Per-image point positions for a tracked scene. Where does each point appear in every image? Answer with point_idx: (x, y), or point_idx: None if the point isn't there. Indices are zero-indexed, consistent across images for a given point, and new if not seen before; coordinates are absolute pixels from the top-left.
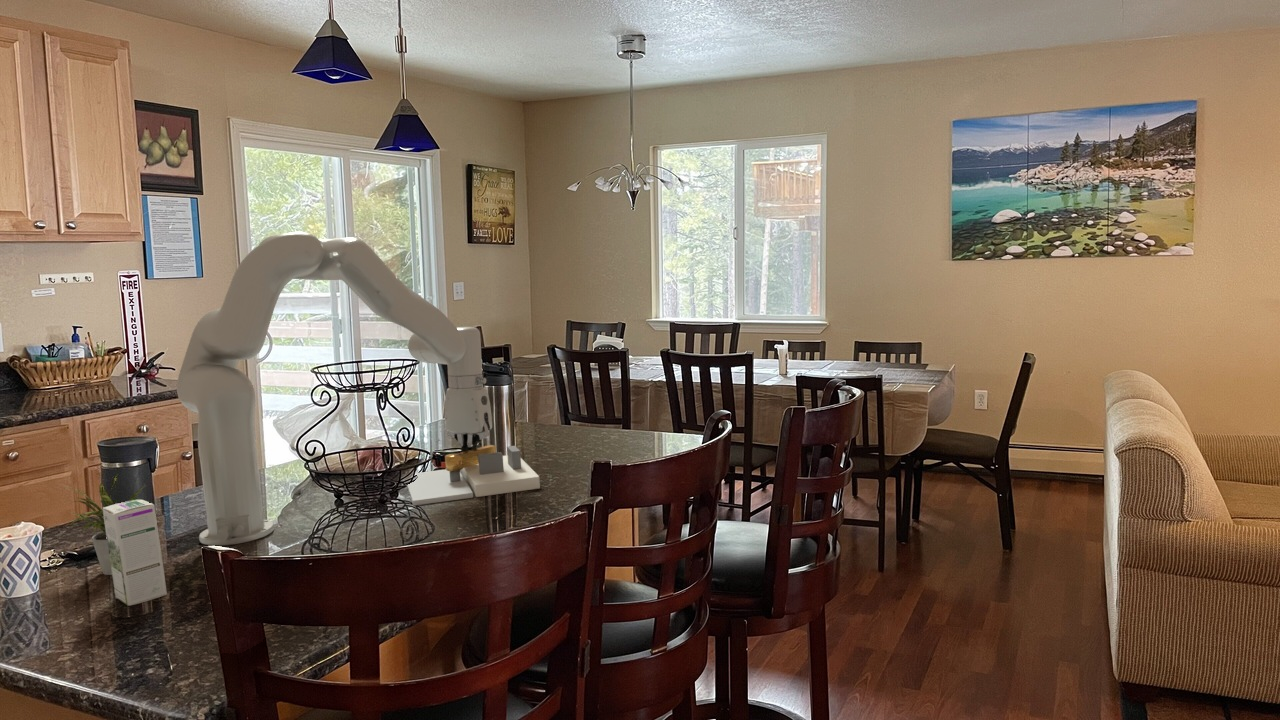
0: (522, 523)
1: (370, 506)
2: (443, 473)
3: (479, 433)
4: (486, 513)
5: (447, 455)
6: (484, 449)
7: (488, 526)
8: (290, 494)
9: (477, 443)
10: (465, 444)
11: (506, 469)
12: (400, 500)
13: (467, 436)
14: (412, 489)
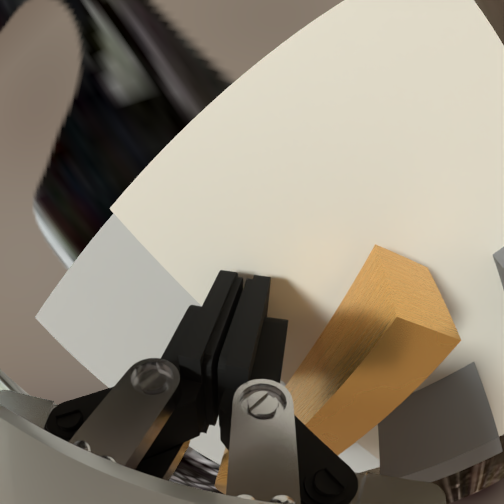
0: (491, 482)
1: (182, 471)
2: (138, 309)
3: (300, 500)
4: (439, 483)
5: (224, 488)
6: (382, 414)
7: (447, 498)
8: (3, 383)
9: (296, 423)
10: (199, 433)
11: (492, 352)
12: (211, 460)
13: (146, 443)
14: (197, 447)
